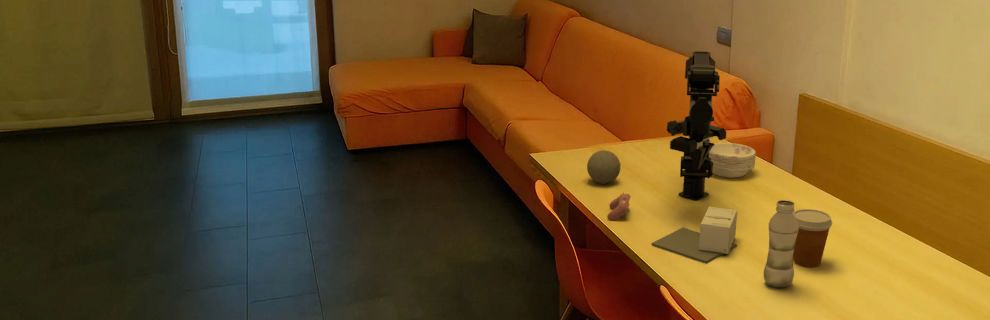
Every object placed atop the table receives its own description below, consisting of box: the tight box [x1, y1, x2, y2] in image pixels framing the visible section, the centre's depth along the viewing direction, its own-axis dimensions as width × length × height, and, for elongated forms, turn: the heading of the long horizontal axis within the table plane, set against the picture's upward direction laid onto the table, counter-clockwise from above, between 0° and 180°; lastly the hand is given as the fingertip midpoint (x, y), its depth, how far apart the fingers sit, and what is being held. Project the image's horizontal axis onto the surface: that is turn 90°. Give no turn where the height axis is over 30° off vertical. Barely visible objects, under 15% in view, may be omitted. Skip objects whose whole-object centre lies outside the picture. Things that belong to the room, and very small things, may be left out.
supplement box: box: [699, 206, 738, 255], centre depth 226 cm, size 7×7×13 cm
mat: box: [650, 227, 738, 264], centre depth 227 cm, size 14×16×1 cm
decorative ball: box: [586, 149, 621, 185], centre depth 271 cm, size 10×10×10 cm
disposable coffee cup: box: [793, 208, 833, 268], centre depth 216 cm, size 10×10×12 cm
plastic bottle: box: [763, 199, 799, 288], centre depth 203 cm, size 6×7×20 cm
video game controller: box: [606, 192, 631, 221], centre depth 247 cm, size 10×5×7 cm, turn 169°
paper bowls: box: [709, 142, 757, 179], centre depth 278 cm, size 15×15×8 cm
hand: (696, 169), depth 244 cm, fingers closed
